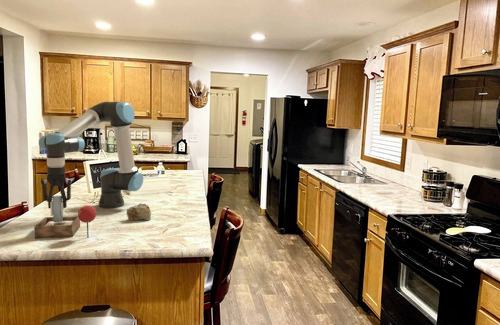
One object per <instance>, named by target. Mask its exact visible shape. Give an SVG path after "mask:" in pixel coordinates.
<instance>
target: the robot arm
mask: <svg viewBox="0 0 500 325" xmlns="http://www.w3.org/2000/svg"><path fill="white" fill-rule="evenodd" d="M135 115H136V114H135V108H134V107H133V106H132V105H131V104H130V103H128V102H125V101H102V102H99V103H97V104H95V105H93V106H91V107H90V108H88V109H86V110H85V112H84V113H83V114H81V115H80V116H79V117H77V118H75V119H73V120H72V121H71V122H69V123H67V124H66V125H64V126H63V127H61V128H59V129H58V130H56V131H54V132H53V133H47V134H46V135H42V136H40V138H39V140H38V145H39V147H40V149H41V150H43V151H46V166H47V167H46V172H47V173H46V177H45V179H44V178H43V179H41V180H40V184H41V185H42V186H41V187H42V197H43V202H47V207H48V209H50V217H53V199H52V197H53V196H54V190H55V187H58V188H59V192H60V196H62V202H61V215H63V216H64V215H65V214H66V212H65V211H66V210H65V209H66V208H67V206H68V205H67V204H68V202H67V201H70V200H71V198H72V193H71V192H72V183H73V179H72V178H70V179H69V178H67V176H66V167H65V165H66V160H65V159H66V158H65V157H66V154H67V153H78V152H81V151H83V150H84V149H85V147H86V143H85V140H84V138H82V137H81V136H79V135H80V134H82V133H84V131H86V130H88V129H89V128H91V127H92V126H96V125H99V124H100V123H109V124H110V127H111V128H113V131H114V138H115V143H116V144H115V145H116V151H117V156H118V164H119V167H115V168H106V169H103V170H101V171H100V192H101V193H100V197H99V200H98V207H99V208H102V209H115V208H116V209H117V208H120V207H121V208H122V207H123V206H125V200H124V197H123V195H122V191H125V192H137V191H139V190H140V189H141V188H142V186H143V183H144V175H143V174H142V173H141V172H140V171H139V168H138V166H136V165H135V157H134V151H133V143H132V137H131V131H130V130H131V129H130V127H131V126H132V125H133V124H132V122H134V120H135V117H136V116H135ZM47 183H49V192H48V184H47ZM64 183H66V191H65V187H64Z"/></svg>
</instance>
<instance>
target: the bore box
mask: <svg viewBox="0 0 500 325" xmlns="http://www.w3.org/2000/svg"><path fill="white" fill-rule="evenodd" d="M33 228H34V229H33V230H34V231H33V232H34V239H50V238H51V239H55V238H73V237H74V235H76V234H77V231H78V230H79V229H80V228H81V221H80V220H79V218H78V215H77V216H75V215H73V216H63V221H61V222H53V216H45V217H44V218H43V219H41V220H40V221H39V222H38V223H37V224H36V225H34V227H33Z"/></svg>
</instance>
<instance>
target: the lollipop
mask: <svg viewBox="0 0 500 325" xmlns="http://www.w3.org/2000/svg"><path fill="white" fill-rule="evenodd" d="M77 216H78V218H79V220H80V222H82V223H85V224H86V231H87V232H86V235H87V236H86V237H87V239H88V238H90V236H89V223H91V222H93V221H94V220H95V219H96V216H97V211H96V208H94V207H93V206H91V205H83V206H82V207H80V208H79V210H78V212H77Z"/></svg>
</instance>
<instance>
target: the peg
mask: <svg viewBox="0 0 500 325" xmlns="http://www.w3.org/2000/svg"><path fill="white" fill-rule="evenodd" d="M52 201H53V216H52V217H53V222H61V221H63V217H64V215H61V202H62V201H63V200H62V196H61V195H53V197H52Z"/></svg>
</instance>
